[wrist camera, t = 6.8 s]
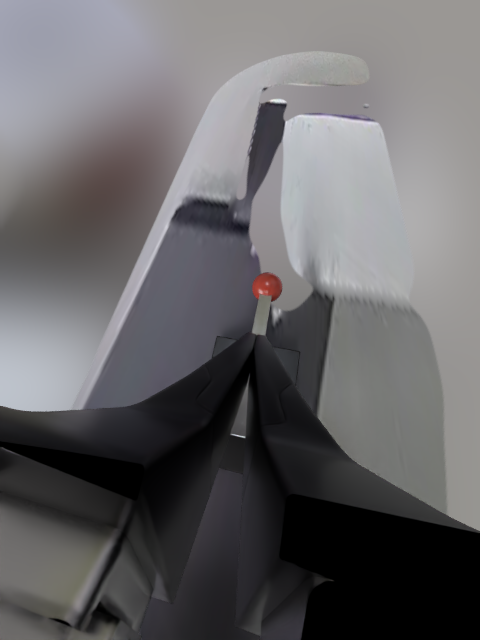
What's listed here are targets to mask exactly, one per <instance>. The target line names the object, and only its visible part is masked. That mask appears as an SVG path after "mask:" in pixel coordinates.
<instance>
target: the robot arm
mask: <svg viewBox="0 0 480 640" xmlns="http://www.w3.org/2000/svg"><path fill="white" fill-rule="evenodd" d="M248 379H249V382H248ZM247 383H248V398H247V417H246V435H245V453H244V471H243V490H242V507H241V526H240V544H239V562H238V581H237V599H236V617H235V626H236V627H237V628H240V629H243V630H245V631H248V632H251V633H254V634H257V635H259V636H261V638H260V640H480V531H478V530H476V529H474V528H471V527H469V526H467V525H465V524H463V523H461V522H459V521H457V520H455V519H452V518H451V517H449V516H447V515H445V514H443V513H442V512H440V511H438V510H436V509H435V508H433V507H431V506H429V505H428V504H426V503H424V502H422V501H421V500H419V499H417V498H416V497H414V496H412V495H410V494H409V493H407V492H405V491H403V490H402V489H400V488H398V487H396V486H395V485H393V484H391V483H390V482H388V481H386V480H384V479H383V478H381V477H379V476H377V475H376V474H374V473H372V472H371V471H369V470H367V469H365V468H364V467H362V466H360V465H359V464H357V463H356V462H355V461H353V460H352V459H351V458H350V457H349V456H348V455H347V454H346V453H345V452H344V451H343V450H342V449H341V448H340V447H339V445H338V444H337V443H336V441H335V440H334V439H333V438H332V436H331V435H330V434H329V432H328V431H327V430H326V428H325V427H324V426H323V424H322V423H321V422H320V420H319V419H318V418H317V416H316V415H315V414H314V413H313V411H312V410H311V408H310V407H309V406H308V404H307V403H306V401H305V400H304V398H303V397H302V395H301V394H300V392H299V391H298V389H297V387H296V386H295V384H294V383H293V381H292V379H291V377H290V376H289V374H288V372H287V370H286V369H285V367H284V365H283V364H282V362H281V360H280V359H279V357H278V355H277V354H276V352H275V350H274V348H273V347H272V345H271V343H270V342H269V340H268V338H267V337H266V336H265V335H260V334H258V335H256V334H254V333H249V332H248V333H246V334H245V335H244V336H242V337H241V338H240V339H238V340H237V341H235V342H234V343H233V344H231V345H230V346H229V347H227V348H226V349H224V350H223V351H222V352H220V353H219V354H218V355H216V356H215V357H213V358H212V359H211V360H209V361H208V362H207V363H205V364H204V365H202V366H201V367H200V368H198V369H197V370H195V371H194V372H192V373H191V374H189V375H188V376H186V377H184V378H183V379H181V380H179V381H178V382H176V383H174V384H173V385H171V386H169V387H167V388H166V389H164V390H162V391H160V392H158V393H157V394H155V395H153V396H151V397H150V398H148V399H146V400H144V401H142V402H140V403H137V404H135V405H131V406H127V407H118V408H102V409H85V410H69V411H52V412H31V411H21V410H15V409H11V408H7V407H3V406H0V640H141V638H142V636H141V635H140V634H139V631H140V628H141V625H142V622H143V619H144V616H145V613H146V610H147V608H148V605H149V602H150V599H151V597H154V598H157V599H159V600H162V601H165V602H168V603H171V604H173V602H174V599H175V596H176V593H177V590H178V587H179V584H180V581H181V578H182V575H183V572H184V569H185V566H186V563H187V560H188V558H189V555H190V552H191V549H192V546H193V543H194V540H195V537H196V534H197V531H198V528H199V525H200V522H201V519H202V516H203V513H204V510H205V507H206V504H207V502H208V499H209V495H210V493H211V490H212V487H213V484H214V481H215V478H216V475H217V472H218V469H219V466H220V463H221V460H222V457H223V454H224V451H225V448H226V445H227V442H228V439H229V436H230V434H231V431H232V428H233V425H234V422H235V419H236V416H237V413H238V410H239V407H240V404H241V401H242V398H243V395H244V392H245V389H246V386H247Z"/></svg>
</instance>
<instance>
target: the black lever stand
mask: <svg viewBox="0 0 480 640" xmlns="http://www.w3.org/2000/svg"><path fill="white" fill-rule="evenodd" d="M235 341H237V340H236V339H231V338H226V337H220V336H217V338H216V342H215V347H214V351H213V355H212V358H213V357H215V356H216V355H218V354H219V353H220V352H222V351H223V350H224V349H226V348H227V347H229V346H230V345H231V344H233V343H234V342H235ZM272 347H273V346H272ZM273 348H274V350H275V352H276V354H277V355H278V357H279V359H280V360H281V362H282V364H283V365H284V367H285V369H286V370H287V372H288V374H289V376H290V377H291V379H292V381H293V383H294V384H295V386H296V381H297V373H298V364H299V356H300V352H299V351H294V350H289V349H284V348H279V347H273ZM244 453H245V438H242V437H238V436H234V435H230V436H229V439H228V442H227V445H226V448H225V451H224V454H223V457H222V460H221V463H220V466H219V468H222V469H225V470H229V471H233V472H237V473H240V474H243V471H244Z"/></svg>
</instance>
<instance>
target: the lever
mask: <svg viewBox="0 0 480 640" xmlns="http://www.w3.org/2000/svg"><path fill="white" fill-rule="evenodd" d="M252 290H253V294H254V296H255V297H256V298H257V299H258V304H257V309H256V314H255V319H254V324H253V329H252V333H254V334H256V335H258V334H260V335H266V329H267V323H268V316H269V310H270V304H271V302H273V301H275V300H276V299H277V298H278V297H279V296H280V294H281V292H282V283H281V280H280V279H279V277H278V276H277V275H275V274H273V273H268V272H267V273H262V274H260V275H259V276H257V277H256V278H255V280H254V282H253V285H252ZM248 382H249V379H248ZM247 398H248V383H247V386H246V389H245V392H244V395H243V398H242V401H241V404H240V407H239V410H238V413H237V416H236V419H235V422H234V425H233V428H232V431H231V434H230V435H234V436H238V437H242V438H245V435H246V417H247Z"/></svg>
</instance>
